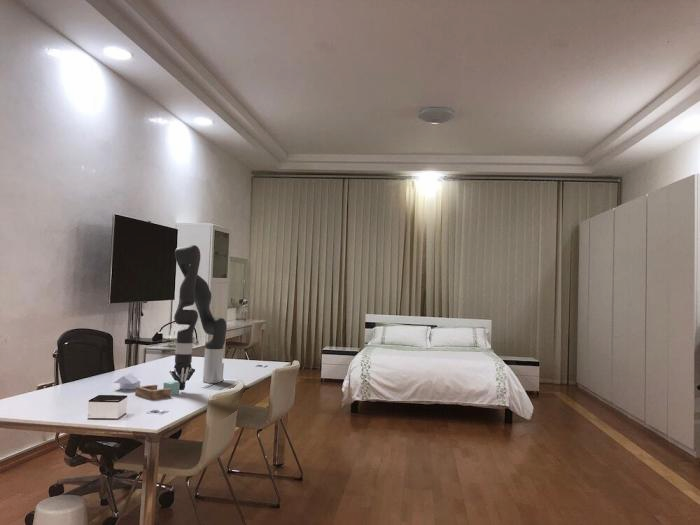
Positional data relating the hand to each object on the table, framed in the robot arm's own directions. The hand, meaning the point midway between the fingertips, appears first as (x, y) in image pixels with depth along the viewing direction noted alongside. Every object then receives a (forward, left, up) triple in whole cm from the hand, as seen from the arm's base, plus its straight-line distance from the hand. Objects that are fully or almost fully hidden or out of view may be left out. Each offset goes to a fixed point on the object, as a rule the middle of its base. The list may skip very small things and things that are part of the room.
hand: (181, 389), depth 259 cm
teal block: (+5, 0, -1) cm, 5 cm away
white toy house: (+14, -22, -1) cm, 26 cm away
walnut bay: (+14, 0, -1) cm, 14 cm away
